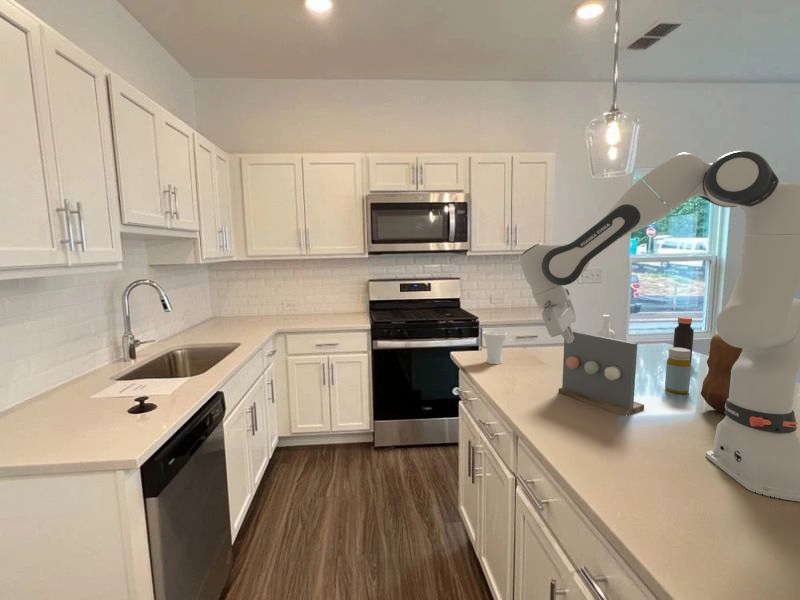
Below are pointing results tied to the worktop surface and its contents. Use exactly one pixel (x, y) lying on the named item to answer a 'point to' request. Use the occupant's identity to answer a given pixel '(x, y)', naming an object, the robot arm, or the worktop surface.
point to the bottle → (678, 370)
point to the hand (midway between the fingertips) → (571, 341)
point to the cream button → (612, 373)
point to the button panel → (601, 373)
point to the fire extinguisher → (606, 328)
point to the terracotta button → (573, 362)
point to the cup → (494, 345)
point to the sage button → (592, 367)
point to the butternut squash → (719, 372)
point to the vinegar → (684, 334)
